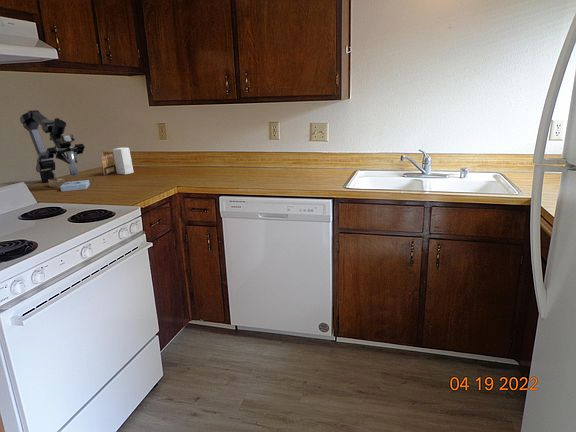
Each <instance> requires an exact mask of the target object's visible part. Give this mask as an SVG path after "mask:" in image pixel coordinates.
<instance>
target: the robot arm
mask: <svg viewBox="0 0 576 432" xmlns="http://www.w3.org/2000/svg"><path fill="white" fill-rule="evenodd" d="M19 122H20V123H21V124H23V125H22V126H23V128H24V129H25V130H26V131H27V132H28V133H29V136H30V138H31V140H32V144H33V146H34V149H35V151H36V155H37V157H36V166H35V171H36V172H37V173H38V174H39V175H40V183H41V184H43V183H45V184H46V183H49V182H48V179H53V178H56V174H55V172H54V171H56V161H55V160H54V157H55V159H58V160H61V161H62V162H64V163H66V164H68V165H69V164H70V162H69V160H68V158H67V154H66V151H74V155H75V161H76V164H77V163H78V158H77V157H78V156H77V155H82V154H83V153H84V151H85V147H86V146H85V145H84V143H76V144H74V147H73V146H72V143H73V142H75V140H76V137H75V136H74V135H73V134H68V135H63V134H65V131H66V127H67V123H66V121H64V120H63V119H60V118H59V117H57V118H56V117H55V118H54V120H53V119H48V117H46V116H45V115H43V114H42V113H41V112H40V111H39V110H37V109H34V110H33V109H32V110H28V111H27V112H26V113H23V114H22V115H20V117H19ZM39 125H40V126H41V130H42V132H44V134H49V141H52V142H53V144H54V146H53V147H47V148H46V147H45V144H44V142H43V139H42V136H41V133H40V131H39Z"/></svg>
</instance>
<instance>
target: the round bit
mask: <svg viewBox="0 0 576 432" xmlns="http://www.w3.org/2000/svg"><path fill="white" fill-rule="evenodd" d="M65 155H66V157H67V158H68V160H69V162H70V164H68V169H69V175H70V176H71V177H73V176H78V175H79V172H78V171H79V170H78V167H77V163H76V161H75V155H74V151H66V153H65Z"/></svg>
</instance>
